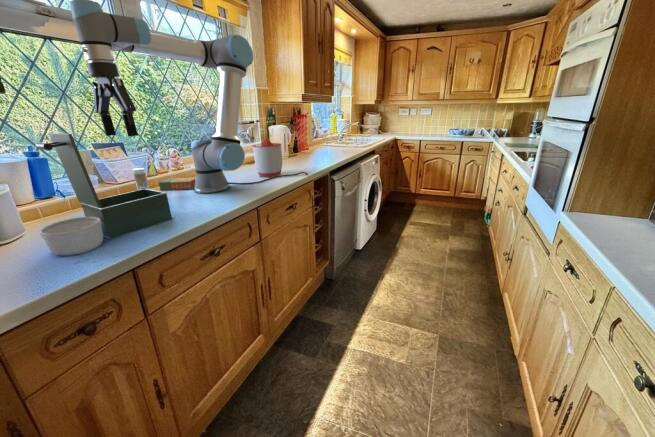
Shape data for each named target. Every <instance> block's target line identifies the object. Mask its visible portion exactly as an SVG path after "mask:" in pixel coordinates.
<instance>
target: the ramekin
mask: <svg viewBox="0 0 655 437" xmlns="http://www.w3.org/2000/svg"><path fill="white" fill-rule="evenodd" d="M101 225H102V222H101V219H100V218H98V217H85V216H82V217H81V216H80V217H73V218H68V219H63V220H59V221H57V222H56V221H55V222H53V223H50V224H48V225H46V226H44V227H42V228H41V229H40V230H39V236H40V237H41V238H42V239H43V241H44V243H45V244H46V246H47V248H48V249H49V251H50V252H51V253H52V254H54V255H56V256H59V257H65V256H67V257H68V256H74V255H79V254H84V253H86V252H90V251H92V250H95V249H96V248H98V247H100V246H101V244H102V243H103V241H104V237H103V232H102V227H101Z"/></svg>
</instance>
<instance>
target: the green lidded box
mask: <svg viewBox="0 0 655 437" xmlns="http://www.w3.org/2000/svg"><path fill="white" fill-rule="evenodd" d="M98 199H99V202H100V204H101V208H97V207H93V206H90V205H87V204H84V203H80V204H81V207H82V211H83V214H84V217H98V218H100V219H101V222H102V225H101V227H102V232H103V238H106V239H107V240H108V239H109V240H112V239H115V238H120V237H121V236H124V235H127V234H130V233H133V232H137V231H140V230H143V229H146V228H149V227H153V226H155V225H158V224H161V223H164V222H167V221H170V220H173V217H172V212H171V208H170V203H169V199H168V194H167V192H164V191H161V190H160V191H159V190H155V189H150V188H149V189H141V190H137V189H136V190H133V191H129V192H124V193H119V194H116V195H111V196H107V197H102V198H98Z"/></svg>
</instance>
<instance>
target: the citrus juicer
mask: <svg viewBox="0 0 655 437" xmlns="http://www.w3.org/2000/svg"><path fill="white" fill-rule="evenodd" d="M252 151H253V158H254V165H255V168H256V171H257V174H258V175H259V177H262V178H272V177H275V176H280V175H281V174H282V170H283V152H282V143H280V142H271V141H270V140H269V139H268V138H266V139H264V140H263V142H261V145H259V146H258V145H255V144H252Z"/></svg>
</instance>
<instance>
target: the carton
mask: <svg viewBox="0 0 655 437" xmlns="http://www.w3.org/2000/svg"><path fill="white" fill-rule="evenodd" d="M195 179H196V176H195V177H194V176H193V177H171V178H170V177H169V178H165V179H163V180H160V181H158V186H159V190H160V191H171V190H172V191H173V190H175V191H176V190H193V189H195Z"/></svg>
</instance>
